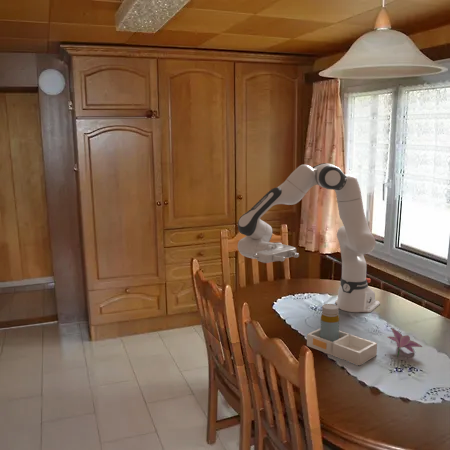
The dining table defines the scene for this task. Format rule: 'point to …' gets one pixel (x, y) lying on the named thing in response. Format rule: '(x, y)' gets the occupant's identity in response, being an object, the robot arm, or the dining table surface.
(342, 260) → the robot arm
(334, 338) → the bottle
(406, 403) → the dining table surface
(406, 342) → the lily
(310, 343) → the caddy
